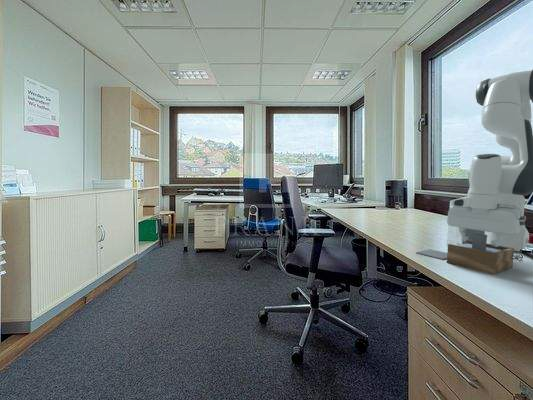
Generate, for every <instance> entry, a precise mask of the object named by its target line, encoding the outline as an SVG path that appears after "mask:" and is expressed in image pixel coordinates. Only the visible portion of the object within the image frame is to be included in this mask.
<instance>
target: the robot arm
mask: <svg viewBox="0 0 533 400" xmlns="http://www.w3.org/2000/svg"><path fill="white" fill-rule="evenodd" d="M474 97H475V100H476V103H477V104H478V105H480V106H482V109H481V126H482V127H483V129H485V130H486V131H487V132H489V133H491V134H493V135H495V141H496V144H498V145H499V146H501V147H504V148H507V149H509V150H510V151H511V154H512V155H500V154H496V153H485V154H484V153H483V154H476V155H475V156H473V158H472V160H471V165H470V168H469V172H468V178H467V179H468V180H467V181H468V185H469V188H468V191H467V196H465V197H460V198H456V199H452V201H451V205H452V206H453V207H451V208H450V207H449V208H448V212H447V216H446V217H447V218H446V223H447V224H448V225H449V226H454V227H459V232H460V234H461V236H462V241H468V240H469V239H468V238H469V236H466V234H465V232H464V231H465V230H466V228H467V229H473V230H480V231H485V235H487V243H486V244H491V246H494V247H498V246H503V247H509V248H514V252H521V251H520V249H525V247H527V246H533V244H532V243H530V233H529V231H528V229H527V227H526V220H527V216H526V215H525V208H526V207H525V205H526V199H525V196H528V195H530V194H533V127H532V107H531V106H532V105H531V103H532V104H533V69H531V70H525V71H524V70H522V71H516V72H510V73H508V74H503V75H500V76H495V77H493V78H487V79H485V80H482V81H480V82H479V83H478V85H477V87H476V90H475V96H474ZM448 225H447V226H448Z"/></svg>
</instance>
